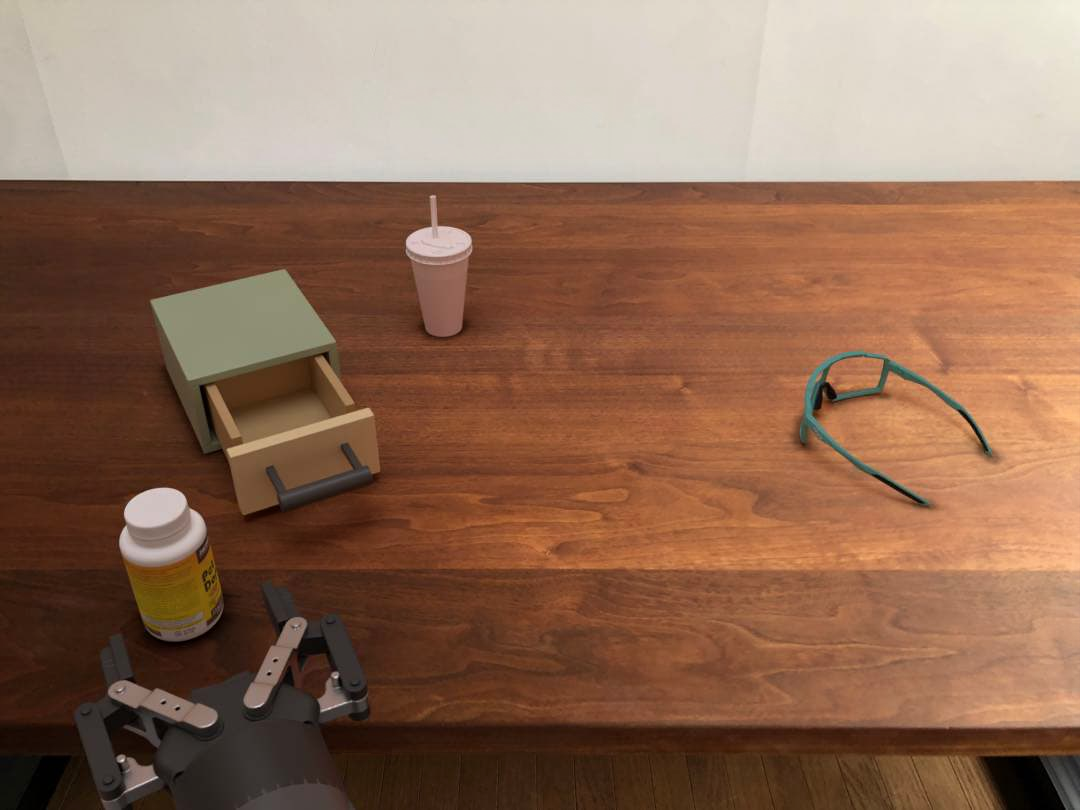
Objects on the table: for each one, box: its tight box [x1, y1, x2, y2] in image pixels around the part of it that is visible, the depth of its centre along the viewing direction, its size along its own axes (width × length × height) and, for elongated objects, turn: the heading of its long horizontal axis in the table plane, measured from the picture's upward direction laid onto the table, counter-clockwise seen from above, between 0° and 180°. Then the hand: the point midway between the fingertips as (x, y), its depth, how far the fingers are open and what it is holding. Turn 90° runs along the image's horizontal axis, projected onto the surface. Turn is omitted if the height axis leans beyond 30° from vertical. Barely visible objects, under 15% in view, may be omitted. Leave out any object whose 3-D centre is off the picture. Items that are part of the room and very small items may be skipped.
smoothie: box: [405, 194, 473, 338], centre depth 102 cm, size 6×6×14 cm
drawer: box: [201, 353, 381, 516], centre depth 85 cm, size 18×11×6 cm, turn 28°
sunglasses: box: [799, 350, 994, 507], centre depth 90 cm, size 14×15×5 cm
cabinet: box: [149, 268, 343, 455], centre depth 95 cm, size 15×13×8 cm
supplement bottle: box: [118, 487, 225, 642], centre depth 72 cm, size 6×6×10 cm
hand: (195, 617), depth 61 cm, fingers open, 8 cm apart
